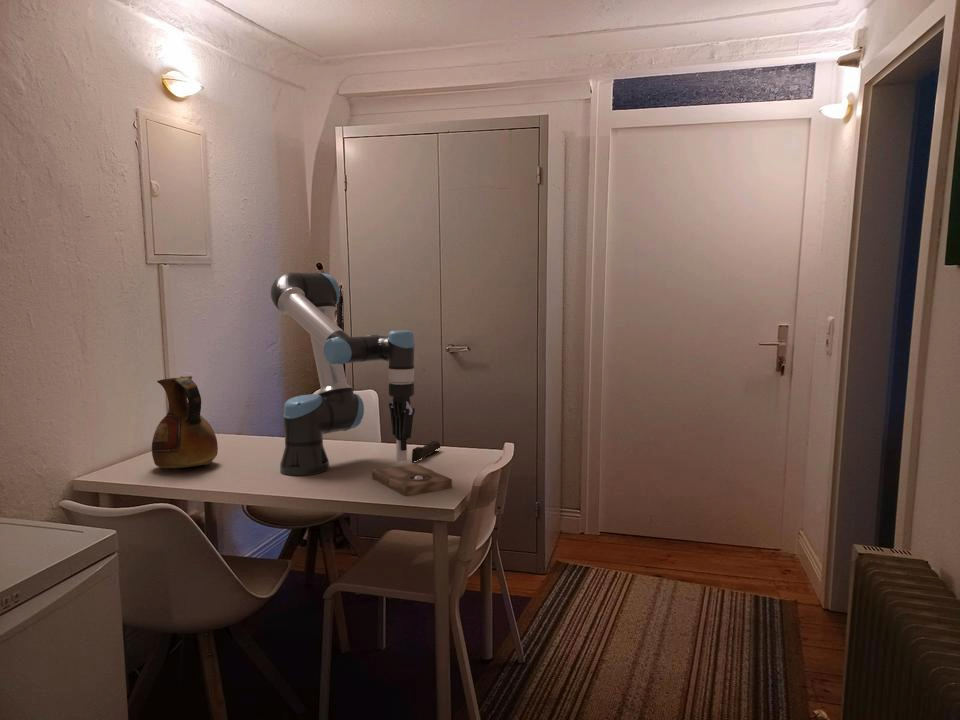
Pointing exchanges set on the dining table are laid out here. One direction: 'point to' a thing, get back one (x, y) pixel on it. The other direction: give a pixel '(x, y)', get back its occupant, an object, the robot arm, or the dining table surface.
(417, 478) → the steel ball
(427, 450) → the hand tool
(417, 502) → the dining table surface
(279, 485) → the dining table surface
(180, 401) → the ceramic pitcher
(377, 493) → the dining table surface
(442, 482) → the walnut plate
